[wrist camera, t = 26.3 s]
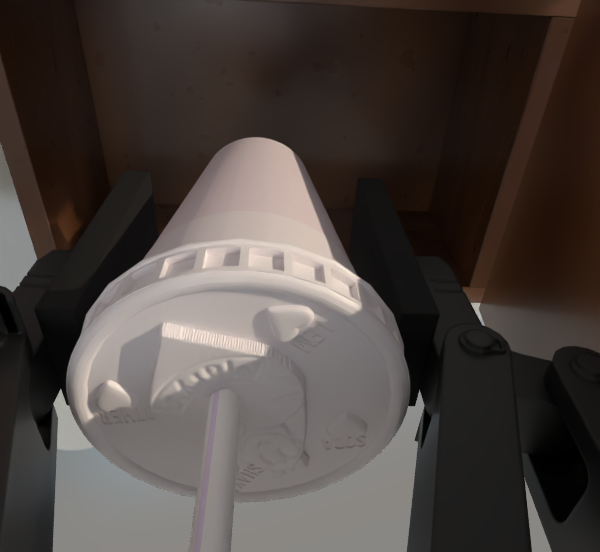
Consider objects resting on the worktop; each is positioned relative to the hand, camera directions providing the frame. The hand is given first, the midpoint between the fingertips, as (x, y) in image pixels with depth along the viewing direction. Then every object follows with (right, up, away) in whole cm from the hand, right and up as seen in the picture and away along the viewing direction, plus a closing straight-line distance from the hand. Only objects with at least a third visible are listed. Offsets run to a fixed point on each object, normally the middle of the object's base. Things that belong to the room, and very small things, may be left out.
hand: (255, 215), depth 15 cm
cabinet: (0, +7, +10) cm, 12 cm away
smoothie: (0, +1, +2) cm, 2 cm away
